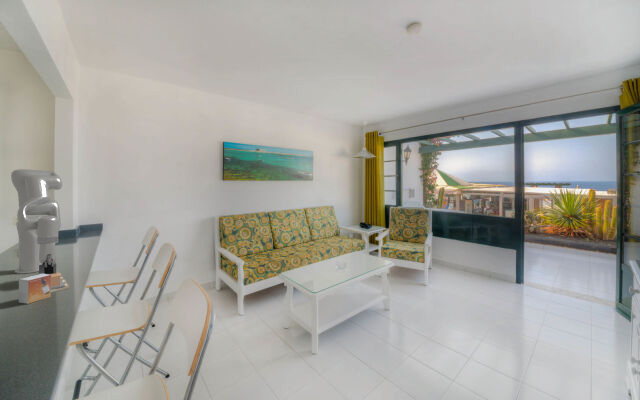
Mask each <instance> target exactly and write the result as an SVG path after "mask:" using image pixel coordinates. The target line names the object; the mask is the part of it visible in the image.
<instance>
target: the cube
mask: <svg viewBox="0 0 640 400" xmlns="http://www.w3.org/2000/svg"><path fill="white" fill-rule="evenodd" d="M50 275H51V287H54V286H59V285H60V275H59V273H56V274H50Z"/></svg>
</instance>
